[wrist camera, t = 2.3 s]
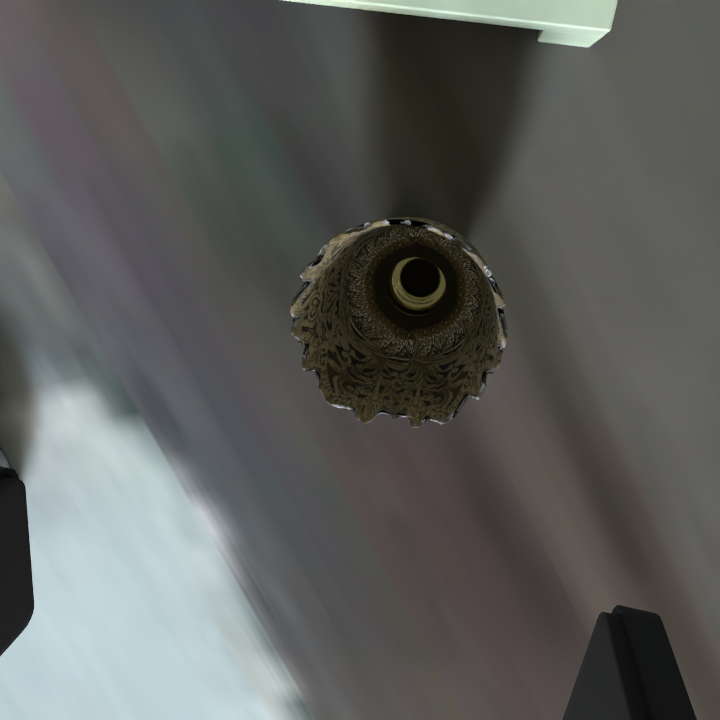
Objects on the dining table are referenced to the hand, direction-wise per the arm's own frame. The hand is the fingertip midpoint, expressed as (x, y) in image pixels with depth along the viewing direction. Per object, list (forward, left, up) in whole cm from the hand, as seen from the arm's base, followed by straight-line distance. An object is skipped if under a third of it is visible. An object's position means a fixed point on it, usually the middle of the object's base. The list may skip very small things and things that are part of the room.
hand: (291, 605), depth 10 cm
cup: (0, 0, -21) cm, 21 cm away
